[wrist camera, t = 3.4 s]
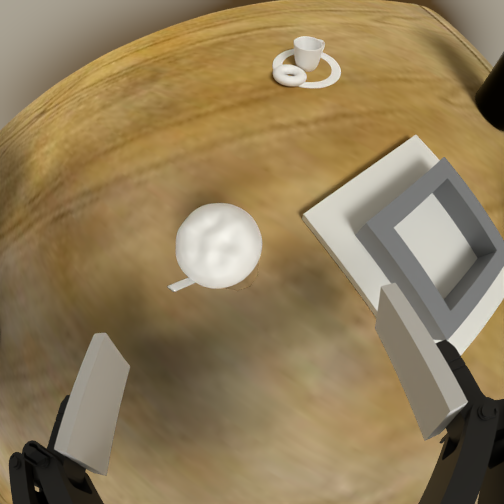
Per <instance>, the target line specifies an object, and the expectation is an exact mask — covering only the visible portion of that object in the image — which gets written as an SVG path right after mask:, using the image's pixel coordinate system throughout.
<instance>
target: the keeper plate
mask: <svg viewBox="0 0 504 504" xmlns="http://www.w3.org/2000/svg"><path fill="white" fill-rule="evenodd" d="M302 220H303V221H304V222H305V224H306V225H307V226H308V227H309V229H310V230H311V231H312V232H313V234H314V235H315V236H316V237H317V239H318V240H319V241H320V242H321V244H322V245H323V246H324V248H325V249H326V250H327V251H328V253H329V254H330V255H331V257H332V258H333V259H334V261H335V262H336V263H337V264H338V266H339V267H340V268H341V270H342V271H343V272H344V274H345V275H346V276H347V278H348V279H349V281H350V282H351V283H352V285H353V286H354V287H355V289H356V290H357V291H358V293H359V294H360V296H361V297H362V298H363V300H364V301H365V302H366V304H367V305H368V307H369V308H370V309H371V311H372V312H373V314H374V315H375V317H376V318H377V311H378V304H379V297H380V289H381V286H384V285H388V284H392V283H396V284H397V286H398V287H399V289H400V290H401V291H402V293H403V294H404V296H405V297H406V299H407V300H408V302H409V303H410V305H411V306H412V308H413V309H414V311H415V312H416V314H417V315H418V317H419V318H420V320H421V321H422V323H423V324H424V326H425V328H426V329H427V331H428V332H429V334H430V335H431V337H432V339H433V340H434V342H435V343H438V342H440V341H443V340H445V339H446V340H447V341H448V342H450V343H451V344H452V345H453V346H455V348H456V349H457V351H458V352H459V354H460V356H461V355H462V353H463V352H464V351H465V350H466V349H467V347H468V346H469V345H470V344H471V342H472V341H473V340H474V339H475V337H476V336H477V335H478V334H479V332H480V331H481V330H482V328H483V327H484V326H485V324H486V323H487V322H488V320H489V319H490V317H491V316H492V315H493V313H494V312H495V310H496V309H497V307H498V306H499V304H500V303H501V301H502V300H503V298H504V240H503V239H502V237H501V235H500V234H499V232H498V230H497V229H496V227H495V225H494V224H493V222H492V221H491V219H490V217H489V216H488V214H487V213H486V211H485V210H484V208H483V207H482V205H481V204H480V203H479V201H478V200H477V198H476V197H475V195H474V194H473V193H472V191H471V190H470V189H469V187H468V186H467V185H466V183H465V182H464V181H463V179H462V178H461V177H460V175H459V174H458V173H457V172H456V170H455V169H454V168H453V167H452V165H451V164H450V163H449V162H448V161H447V159H446V158H445V157H443V158H442V159H441V160H439V159H438V158H437V157H436V156H435V155H434V154H433V152H432V151H431V150H430V149H429V148H428V147H427V146H426V145H425V144H424V143H423V141H422V140H421V139H420V138H419V137H418V136H417V135H414V136H413V137H412V138H410V139H409V140H407V141H406V142H405V143H403V144H402V145H400V146H399V147H397V148H396V149H395V150H393V151H392V152H390V153H389V154H388V155H386V156H385V157H383V158H382V159H380V160H379V161H378V162H376V163H375V164H373V165H372V166H370V167H369V168H368V169H366V170H365V171H363V172H362V173H361V174H359V175H358V176H356V177H355V178H353V179H352V180H351V181H349V182H348V183H346V184H345V185H344V186H342V187H341V188H339V189H338V190H336V191H335V192H334V193H332V194H331V195H329V196H328V197H327V198H325V199H324V200H322V201H321V202H320V203H318V204H317V205H315V206H314V207H312V208H311V209H310V210H308V211H307V212H305V213H304V214H303V217H302Z"/></svg>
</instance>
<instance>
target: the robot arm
mask: <svg viewBox="0 0 504 504" xmlns="http://www.w3.org/2000/svg"><path fill="white" fill-rule="evenodd" d="M375 329H376V331H377V333H378V335H379V337H380V339H381V341H382V343H383V345H384V348H385V350H386V352H387V354H388V356H389V358H390V360H391V362H392V364H393V367H394V369H395V371H396V373H397V375H398V378H399V380H400V382H401V384H402V387H403V389H404V391H405V393H406V396H407V398H408V400H409V403H410V405H411V408H412V410H413V412H414V415H415V417H416V420H417V422H418V425H419V427H420V430H421V432H422V435H423V438H424V440H427V439H430V438H432V437H434V436H436V435H438V434H440V433H441V432H442V431H443V430H444V429H445V428H446V429H447V432H448V433H447V434H446V435H445V436H444V437H443V438H442V439H441V441H440V443H443V442H444V441H445V442H444V444H443V447H442V450H441V453H440V456H439V458H438V461H437V464H436V466H435V469H434V471H433V473H432V476H431V478H430V480H429V483H428V485H427V487H426V489H425V491H424V494H423V496H422V498H421V500H420V502H419V504H475V501H476V499H477V496H478V494H479V498H478V504H504V399H501V400H493V399H491V398H489V397H486V396H485V395H483V393H482V392H481V390H480V388H479V387H478V385H477V383H476V381H475V379H474V378H473V376H472V374H471V372H470V371H469V369H468V367H467V366H466V365H465V362H464V361H463V359H462V358H461V356H460V354H459V352H458V351H457V349H456V348H455V346H453V345H452V344H451V343H450V342H448V341H447V340H446V339H445V340H443V341H440V342H438V343H435V342H434V340H433V339H432V337H431V335H430V334H429V332H428V331H427V329H426V328H425V326H424V324H423V323H422V321H421V320H420V318H419V317H418V315H417V314H416V312H415V311H414V309H413V308H412V306H411V305H410V303H409V302H408V300H407V299H406V297H405V296H404V294H403V293H402V291H401V290H400V289H399V287H398V286H397V284H396V283H392V284H388V285H384V286H381V289H380V297H379V304H378V311H377V318H376V324H375ZM129 369H130V366H129V364H128V363H127V362H126V360H125V359H124V358H123V356H122V355H121V353H120V352H119V351H118V349H117V348H116V347H115V345H114V344H113V342H112V341H111V339H110V338H109V336H108V335H107V333H95V334H94V336H93V338H92V340H91V343H90V345H89V347H88V350H87V352H86V355H85V357H84V360H83V362H82V365H81V367H80V370H79V373H78V375H77V378H76V381H75V383H74V386H73V389H72V392H71V395H67V396H66V397H65V398H64V400H63V401H62V403H61V405H60V408H59V411H58V414H57V417H56V421H55V423H54V427H53V430H52V433H51V437H50V440H49V444H48V447H47V449H46V448H45V447H43V446H42V445H40V444H39V443H38V442H36V441H33V440H32V441H29V442H27V443H26V444H25V446H24V447H23V451H22V454H21V453H19V452H15V453H13V454H12V455H11V457H10V460H9V474H10V485H11V493H12V500H13V504H104V503H103V501H102V500H101V498H100V496H99V494H98V493H97V491H96V489H95V487H94V485H93V483H92V481H91V479H90V477H89V476H88V474H87V473H86V472H85V470H86V469H88V470H89V471H91V472H93V473H97V474H101V475H106V476H107V470H108V464H109V458H110V453H111V447H112V442H113V437H114V432H115V427H116V423H117V418H118V414H119V409H120V405H121V401H122V396H123V392H124V388H125V384H126V381H127V377H128V373H129ZM34 486H36V487H38V488H39V492H37V491H35V487H34ZM479 491H480V492H479Z"/></svg>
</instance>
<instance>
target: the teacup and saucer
mask: <svg viewBox="0 0 504 504" xmlns="http://www.w3.org/2000/svg"><path fill="white" fill-rule="evenodd" d="M324 46H325V42H324V41H323V40H320V39H319V40H318V39H316V38H313V37H308V36H303V37H298V38H296V39H295V40H294V49H291V50H287V51H284V52H282V53H281V54H279V55H278V56H277V57H276V58H275V59H274V61H273V77H274V79H275V80H276V81H277V82H278V83H280V84H282V85H285V86H298V87H304V88H322V87H326V86H329V85H332V84H334V83H335V82H336V81H337V80H338V79H339V78H340V75H341V69H340V66H339V65H338V63H337V62H336V61H335V60H334V59H333V58H332V57H330V56H329V55H327V54H325V53H323V49H324ZM291 55H294V57H295V62H296V65H297V66H294V65H282V63H283V61H284V60H285V59H286V58H287V57H289V56H291ZM320 57H321V58H323V59H324V60H326V61H327V62H328V63H329V64H330V66H331V68H332V73H331V75H330V76H329V77H328V78H327V79H325V80H323V81H320V82H305V81H306V78H307V76H306V73H305V72H311V71H313V70H315V69H316V67H317V66H318V63H319V61H320ZM304 71H305V72H304ZM287 74H290V75H294V76H288V75H287Z"/></svg>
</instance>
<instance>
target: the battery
mask: <svg viewBox="0 0 504 504" xmlns="http://www.w3.org/2000/svg"><path fill="white" fill-rule="evenodd" d="M475 98H476V102H477V104H478V107H479V108H480V110H481V111H482V113H483V114H484V116H485V117H486V118H487V119H488V120H489V121H490V122H491V123H492V124H493V125H494V126H495V127H497V128H498V129H500V130H502V131H504V52H503V54H502V55H501V57H500V58H499V60H498V62H497V63H496V65H495V66H494V68H493V69H492V71H491V72H490V74H489V75H488V77H487V78H486V80H485V81H484V83H483V84H482V86H481V87H480V89H479V90H478V92H477V93H476V96H475Z"/></svg>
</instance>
